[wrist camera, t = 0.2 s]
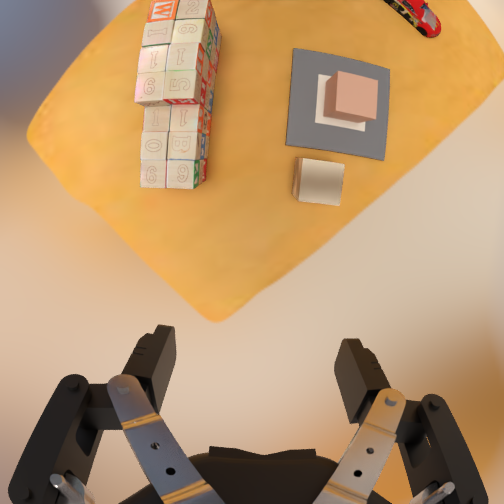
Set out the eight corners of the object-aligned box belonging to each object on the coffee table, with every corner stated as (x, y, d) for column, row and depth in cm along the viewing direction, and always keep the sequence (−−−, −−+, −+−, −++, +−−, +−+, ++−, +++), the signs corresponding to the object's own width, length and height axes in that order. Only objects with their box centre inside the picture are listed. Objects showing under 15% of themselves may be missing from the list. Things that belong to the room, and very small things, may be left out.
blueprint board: (293, 49, 31) (294, 47, 30) (387, 70, 31) (390, 69, 31) (285, 145, 36) (286, 144, 35) (381, 160, 36) (384, 160, 35)
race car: (440, 30, 28) (452, 24, 24) (428, 44, 29) (441, 38, 26) (381, -23, 25) (391, -33, 21) (366, -11, 26) (375, -22, 23)
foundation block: (325, 81, 32) (338, 70, 26) (360, 89, 32) (377, 80, 26) (323, 116, 34) (335, 110, 28) (358, 123, 34) (376, 119, 28)
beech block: (295, 157, 36) (303, 158, 31) (331, 162, 37) (344, 164, 31) (291, 193, 38) (298, 201, 33) (327, 197, 38) (339, 205, 33)
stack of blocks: (207, 181, 38) (186, 195, 26) (163, 179, 38) (126, 192, 26) (222, 35, 31) (209, -6, 19) (178, 36, 30) (150, -1, 19)
